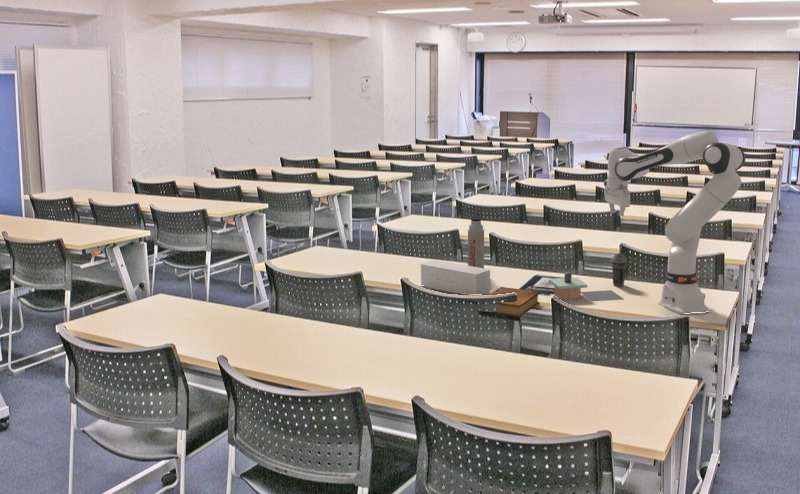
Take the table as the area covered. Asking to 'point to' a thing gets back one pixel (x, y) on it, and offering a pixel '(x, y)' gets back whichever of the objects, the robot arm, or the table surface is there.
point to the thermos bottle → (476, 243)
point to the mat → (601, 295)
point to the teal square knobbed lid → (568, 282)
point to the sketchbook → (540, 284)
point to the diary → (516, 302)
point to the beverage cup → (619, 269)
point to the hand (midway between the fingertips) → (616, 214)
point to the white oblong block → (455, 277)
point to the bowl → (568, 293)
